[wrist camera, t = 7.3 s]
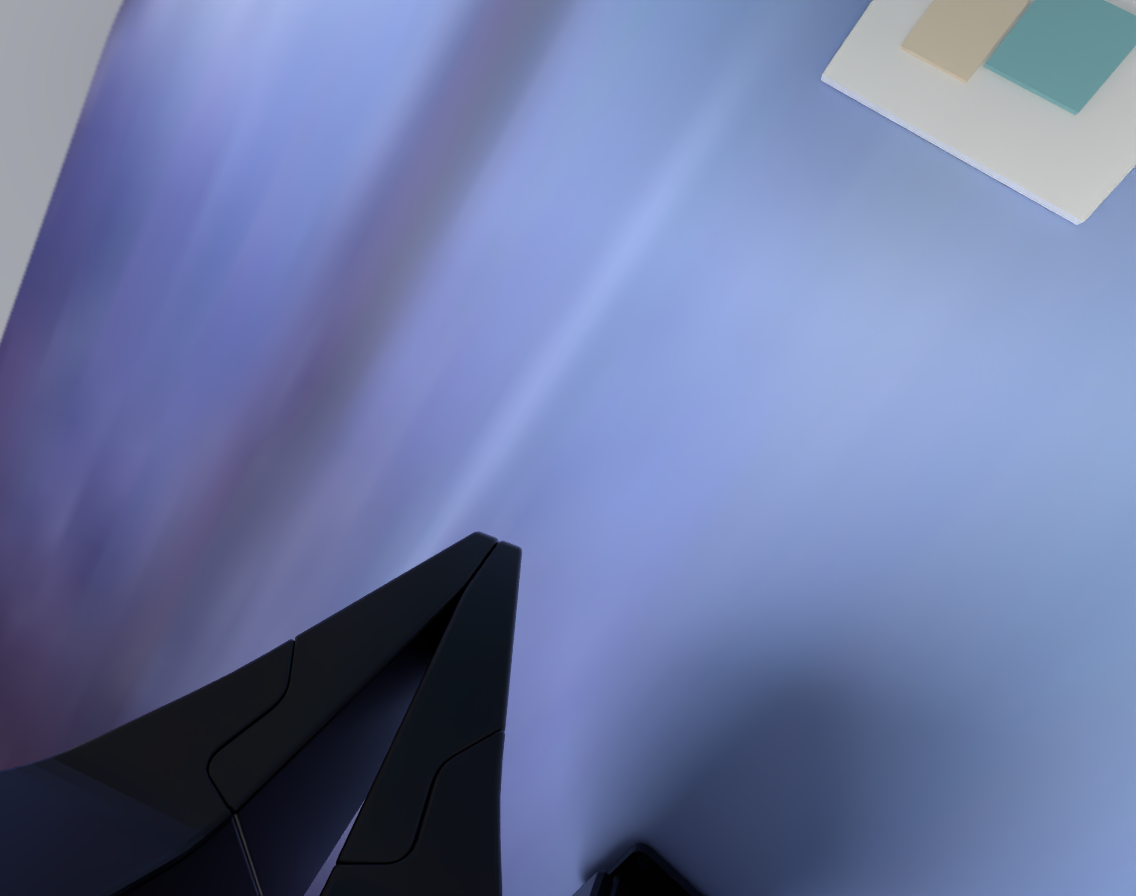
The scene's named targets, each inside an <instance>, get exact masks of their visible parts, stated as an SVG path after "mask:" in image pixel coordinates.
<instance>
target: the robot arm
mask: <svg viewBox="0 0 1136 896" xmlns="http://www.w3.org/2000/svg"><path fill="white" fill-rule="evenodd" d="M521 558H522V549H521V548H520V547H518V546H516V545H513V544H511V543H508V542H505V541H500V542H499V541H498V539H497V538H495V537H492V536H490V535H487V534H485V533H482V532H474V533H472V534H470V535H469V536H467V537H465V538H464V539H462V540H460V541H458V542H457V543H455V544H453V545H452V546H450V547H448V548H446V549H445V550H443V551H441V552H440V553H438V554H436V555H434V556H433V557H431V558H429V559H428V560H426V561H424V562H422V563H421V564H419V565H417V566H416V567H414V568H412V569H410V570H409V571H407V572H405V573H404V574H402V575H400V576H399V577H397V578H395V579H393V580H392V581H390V582H388V583H387V584H385V585H383V586H381V587H380V588H378V589H376V590H375V591H373V592H371V593H369V594H368V595H366V596H364V597H363V598H361V599H359V600H357V601H356V602H354V603H352V604H351V605H349V606H347V607H345V608H344V609H342V610H340V611H339V612H337V613H335V614H333V615H332V616H330V617H328V618H327V619H325V620H323V621H322V622H320V623H318V624H316V625H315V626H313V627H311V628H310V629H308V630H306V631H304V632H303V633H301V634H299V635H298V636H296V637H295V641H294V640H292V639H290V640H288V641H287V642H285V643H283V644H282V645H280V646H278V647H277V648H275V649H273V650H271V651H270V652H268V653H266V654H264V655H263V656H261V657H259V658H257V659H255V660H254V661H252V662H250V663H248V664H246V665H245V666H243V667H241V668H239V669H237V670H236V671H234V672H232V673H230V674H228V675H226V676H224V677H222V678H220V679H218V680H216V681H214V682H212V683H210V684H208V685H206V686H204V687H202V688H200V689H198V690H196V691H194V692H192V693H190V694H188V695H185V696H183V697H181V698H179V699H177V700H175V701H173V702H171V703H168V704H166V705H164V706H162V707H160V708H158V709H156V710H154V711H152V712H149V713H147V714H145V715H143V716H141V717H139V718H137V719H135V720H132V721H130V722H128V723H126V724H124V725H122V726H120V727H118V728H116V729H113V730H111V731H109V732H107V733H105V734H103V735H101V736H99V737H96V738H94V739H92V740H90V741H88V742H86V743H83V744H81V745H79V746H77V747H74V748H72V749H70V750H67V751H65V752H62V753H59V754H57V755H54V756H51V757H49V758H45V759H42V760H39V761H36V762H33V763H30V764H26V765H22V766H18V767H15V768H11V769H6V770H0V896H304V894H305V893H306V891H307V890H308V888H309V887H310V885H311V883H312V882H313V880H314V879H315V877H316V875H317V874H318V872H319V871H320V869H321V868H322V866H323V864H324V863H325V861H326V860H327V858H328V857H329V855H330V853H331V852H332V850H333V849H334V847H335V846H336V844H337V842H338V841H339V839H340V838H341V836H342V834H343V833H344V831H345V830H346V828H347V827H348V825H349V823H350V822H351V820H352V819H353V817H354V816H355V814H356V812H357V811H358V809H359V808H360V806H361V805H362V803H363V801H364V800H365V801H364V803H363V805H362V807H361V809H360V812H359V814H358V816H357V818H356V820H355V822H354V824H353V826H352V829H351V831H350V833H349V835H348V837H347V839H346V841H345V843H344V846H343V848H342V850H341V852H340V854H339V856H338V858H337V861H336V866H334V868H333V869H332V871H331V873H330V876H329V878H328V880H327V882H326V884H325V886H324V888H323V890H322V892H321V893H320V895H319V896H502V871H501V841H500V793H501V777H502V760H503V749H504V739H505V733H504V731H505V726H506V715H507V705H508V694H509V684H510V673H511V663H512V652H513V642H514V631H515V621H516V610H517V600H518V589H519V579H520V568H521ZM365 798H366V799H365ZM639 857H642V858H644V859H645V860H646V861H644V860H642V859H640V858H639ZM573 896H703V895H702V894H701V893H700V892H698V891H697V890H696V889H695V888H694V887H693V886H692V885H691V884H690V883H689V882H688V881H687V880H685V879H684V878H683V877H682V876H681V875H680V874H679V873H678V872H677V871H676V870H675V869H674V868H672V867H671V866H670V865H669V864H668V863H667V862H666V861H665V860H664V859H663V858H662V857H660V856H659V855H658V854H657V853H656V852H655V851H654V850H653V849H652V848H651V847H649V846H648V845H646V844H643V843H637V844H635V845H633V846H632V847H631V848H630V849H629V850H628V851H627V852H626V853H625V854H624V855H623V856H622V857H621V858H620V859H619V860H618V861H617V862H616V863H615V864H614V865H613V866H612V867H611V868H610V869H609V870H608V871H607V872H606V871H604V870H602V871H597V872H596V873H595V874H594V875H593V876H592V877H591V878H590V879H589V880H588V881H587V882H586V883H585V884H584V885H583V886H582V887H581V888H580V889H579V890H578V891H577V892H576V893H575V894H574V895H573Z"/></svg>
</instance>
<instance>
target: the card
mask: <svg viewBox="0 0 1136 896" xmlns="http://www.w3.org/2000/svg"><path fill="white" fill-rule="evenodd" d="M821 81H823V82H825V83H826V84H828V85H830V86H832V87H833V88H835V89H837V90H839V91H840V92H842V93H844V94H846V95H848V96H849V97H851V98H853V99H855V100H856V101H858V102H860V103H862V104H863V105H865V106H867V107H869V108H871V109H872V110H874V111H876V112H878V113H879V114H881V115H883V116H885V117H886V118H888V119H890V120H892V121H893V122H895V123H897V124H899V125H901V126H902V127H904V128H906V129H908V130H909V131H911V132H913V133H915V134H916V135H918V136H920V137H922V138H924V139H925V140H927V141H929V142H931V143H932V144H934V145H936V146H938V147H939V148H941V149H943V150H945V151H947V152H948V153H950V154H952V155H954V156H955V157H957V158H959V159H961V160H962V161H964V162H966V163H968V164H969V165H971V166H973V167H975V168H977V169H978V170H980V171H982V172H984V173H985V174H987V175H989V176H991V177H992V178H994V179H996V180H998V181H1000V182H1001V183H1003V184H1005V185H1007V186H1008V187H1010V188H1012V189H1014V190H1015V191H1017V192H1019V193H1021V194H1023V195H1024V196H1026V197H1028V198H1030V199H1031V200H1033V201H1035V202H1037V203H1038V204H1040V205H1042V206H1044V207H1045V208H1047V209H1049V210H1051V211H1053V212H1054V213H1056V214H1058V215H1060V216H1061V217H1063V218H1065V219H1067V220H1068V221H1070V222H1072V223H1074V224H1076V225H1078V224H1081V223H1083V222H1085V220H1086V219H1087V218H1088V217H1089V216H1090V215H1091V214H1092V213H1093V212H1094V211H1095V209H1096V208H1097V207H1098V206H1099V205H1100V204H1101V203H1102V202H1103V201H1104V200H1105V198H1106V197H1107V196H1108V195H1109V194H1110V193H1111V192H1112V191H1113V190H1114V189H1115V187H1116V186H1117V185H1118V184H1119V183H1120V182H1121V181H1122V180H1123V179H1124V178H1125V176H1126V175H1127V174H1128V173H1129V172H1130V171H1131V170H1132V169H1133V168H1134V167H1135V165H1136V0H872V2H871V3H870V5H869V6H868V8H867V9H866V10H865V12H864V13H863V15H862V16H861V18H860V19H859V21H858V22H857V24H856V25H855V27H854V28H853V30H852V31H851V32H850V34H849V35H848V37H847V38H846V40H845V41H844V43H843V44H842V46H841V47H840V49H839V50H838V52H837V53H836V54H835V56H834V57H833V59H832V60H831V62H830V63H829V65H828V66H827V68H826V69H825V71H824V72H823V74H822V77H821Z"/></svg>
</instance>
